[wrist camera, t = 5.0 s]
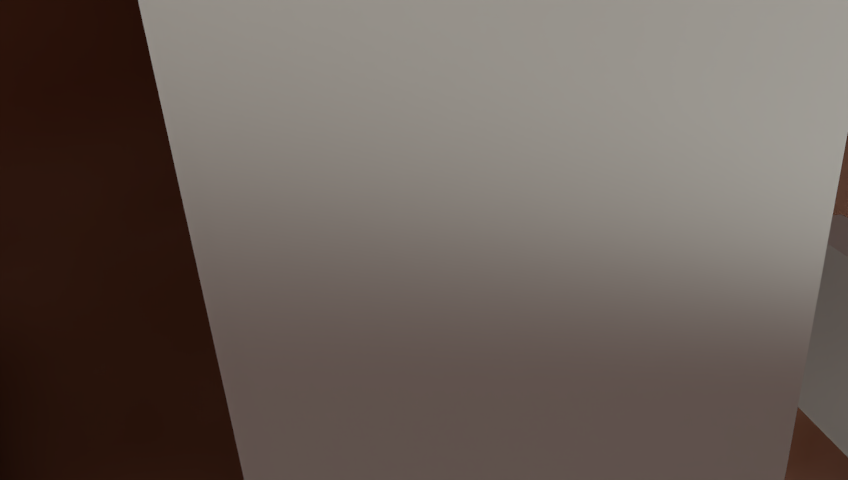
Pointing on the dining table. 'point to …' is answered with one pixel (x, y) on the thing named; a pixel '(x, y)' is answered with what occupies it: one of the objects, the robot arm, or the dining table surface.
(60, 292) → the dining table surface
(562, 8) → the light grey long block
